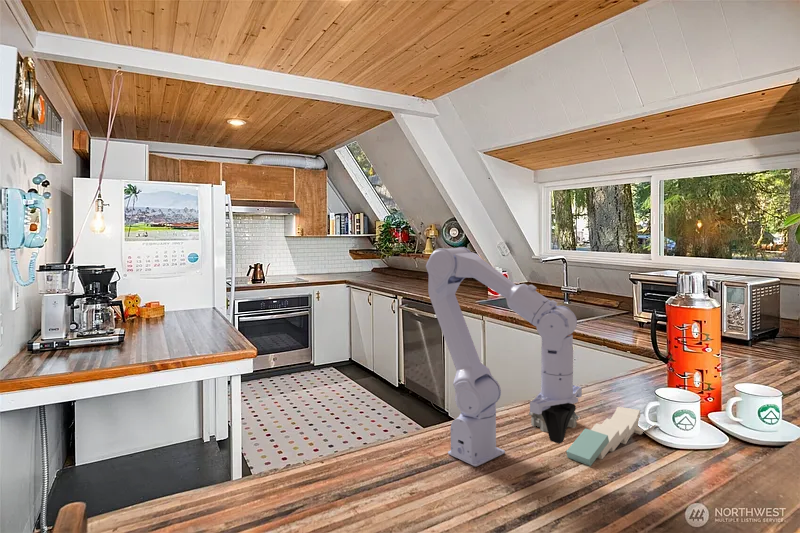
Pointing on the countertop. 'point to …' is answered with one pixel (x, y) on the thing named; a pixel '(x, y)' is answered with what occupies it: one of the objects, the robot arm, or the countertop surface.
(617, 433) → the domino
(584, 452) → the domino
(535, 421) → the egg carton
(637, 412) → the domino
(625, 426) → the domino
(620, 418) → the domino
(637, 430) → the domino
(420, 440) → the countertop surface
